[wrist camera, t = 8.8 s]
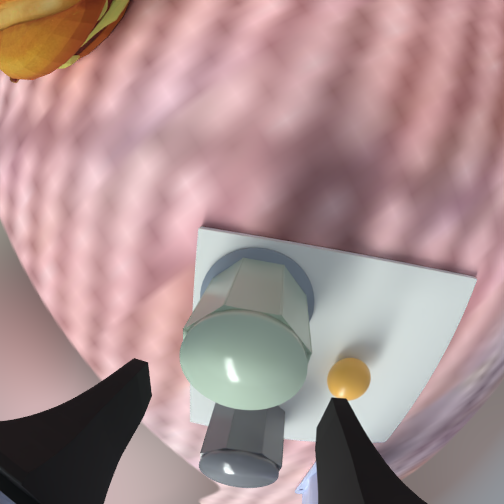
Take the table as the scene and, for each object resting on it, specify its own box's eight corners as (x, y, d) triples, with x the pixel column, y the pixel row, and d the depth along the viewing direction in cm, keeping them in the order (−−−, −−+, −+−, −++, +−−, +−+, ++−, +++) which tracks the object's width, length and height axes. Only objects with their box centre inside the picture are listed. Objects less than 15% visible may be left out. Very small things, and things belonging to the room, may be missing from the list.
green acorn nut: (292, 347, 18) (291, 417, 13) (207, 332, 19) (179, 396, 13) (312, 269, 16) (323, 328, 11) (215, 252, 17) (180, 301, 11)
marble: (358, 381, 19) (364, 410, 16) (320, 378, 19) (322, 408, 16) (372, 350, 18) (382, 379, 15) (332, 346, 18) (337, 376, 15)
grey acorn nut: (275, 436, 22) (270, 491, 17) (213, 426, 22) (198, 479, 17) (289, 399, 20) (287, 462, 15) (217, 386, 21) (198, 447, 15)
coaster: (299, 354, 19) (300, 356, 18) (198, 335, 19) (197, 338, 19) (326, 258, 16) (326, 260, 16) (206, 238, 17) (204, 239, 16)
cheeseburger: (128, -56, 10) (67, -102, 2) (170, 30, 15) (106, -5, 7) (34, 13, 12) (-45, 9, 4) (66, 98, 17) (-23, 122, 9)
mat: (384, 438, 22) (385, 442, 22) (191, 417, 23) (190, 421, 23) (473, 276, 16) (477, 279, 15) (200, 226, 17) (198, 228, 17)
